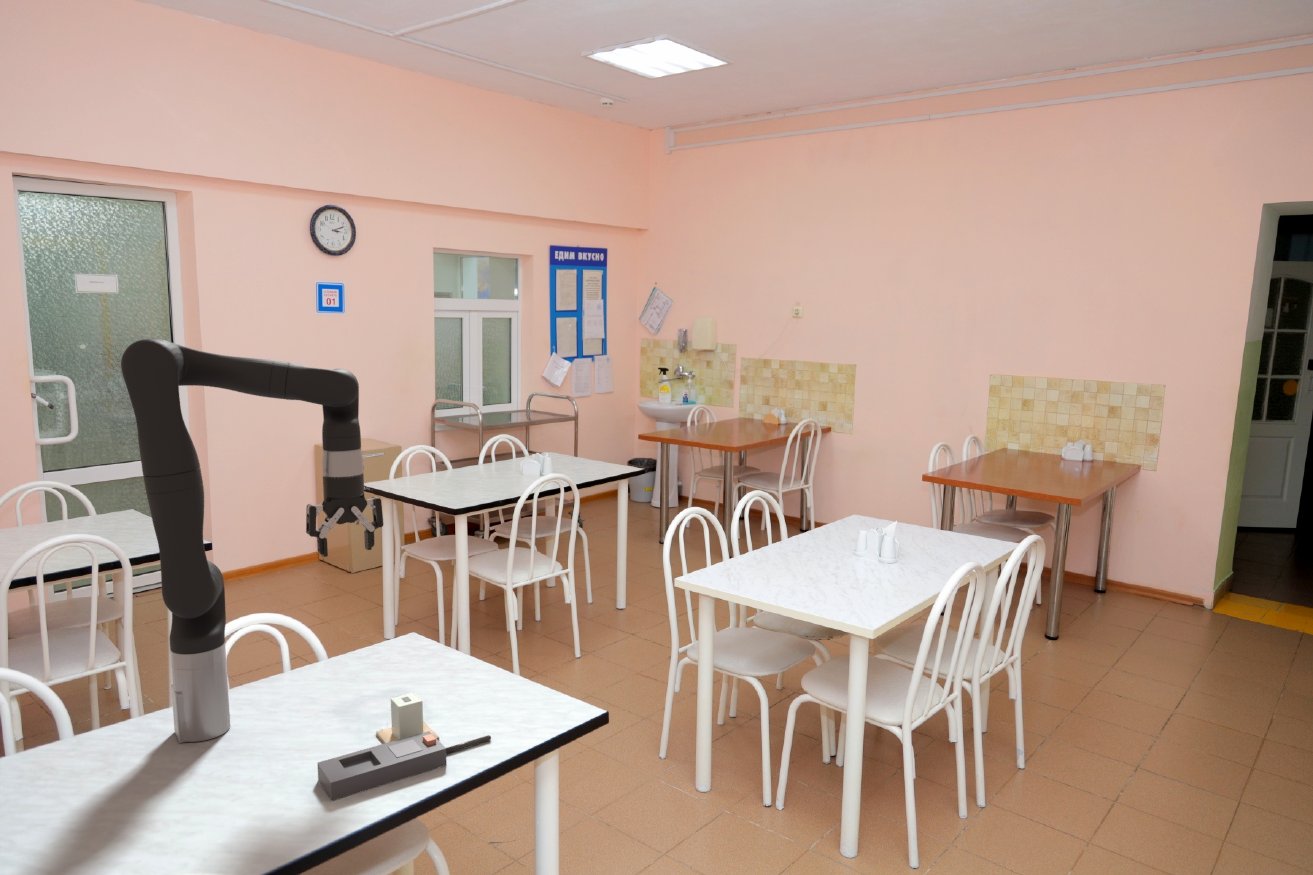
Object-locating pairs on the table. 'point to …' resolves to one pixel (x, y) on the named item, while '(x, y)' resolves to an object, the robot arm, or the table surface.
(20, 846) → the table surface
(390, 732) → the cork mat
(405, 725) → the block
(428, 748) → the power strip
